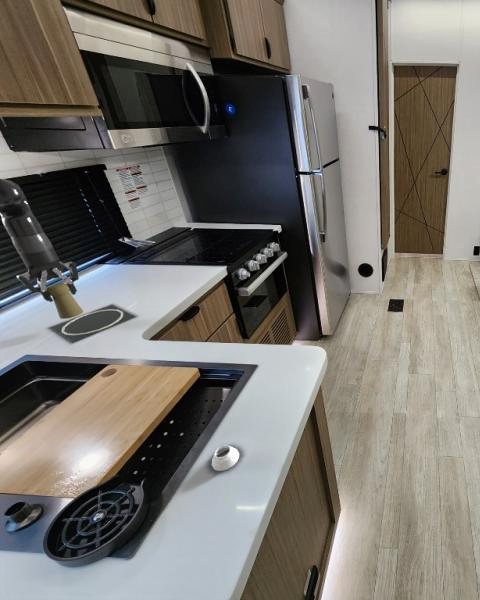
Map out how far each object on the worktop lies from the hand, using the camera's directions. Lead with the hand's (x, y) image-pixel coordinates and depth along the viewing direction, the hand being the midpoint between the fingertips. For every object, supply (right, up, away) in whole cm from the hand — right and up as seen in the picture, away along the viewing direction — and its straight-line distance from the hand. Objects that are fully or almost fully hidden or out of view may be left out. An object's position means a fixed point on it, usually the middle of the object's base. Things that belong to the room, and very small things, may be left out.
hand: (62, 297), depth 109 cm
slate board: (+4, -9, +7) cm, 12 cm away
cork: (0, -6, +3) cm, 7 cm away
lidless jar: (+75, -34, -40) cm, 92 cm away
